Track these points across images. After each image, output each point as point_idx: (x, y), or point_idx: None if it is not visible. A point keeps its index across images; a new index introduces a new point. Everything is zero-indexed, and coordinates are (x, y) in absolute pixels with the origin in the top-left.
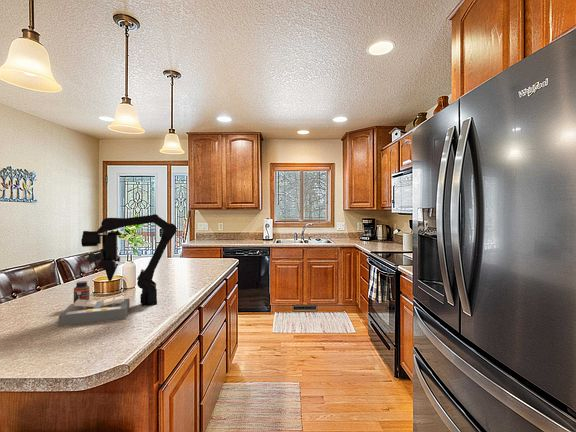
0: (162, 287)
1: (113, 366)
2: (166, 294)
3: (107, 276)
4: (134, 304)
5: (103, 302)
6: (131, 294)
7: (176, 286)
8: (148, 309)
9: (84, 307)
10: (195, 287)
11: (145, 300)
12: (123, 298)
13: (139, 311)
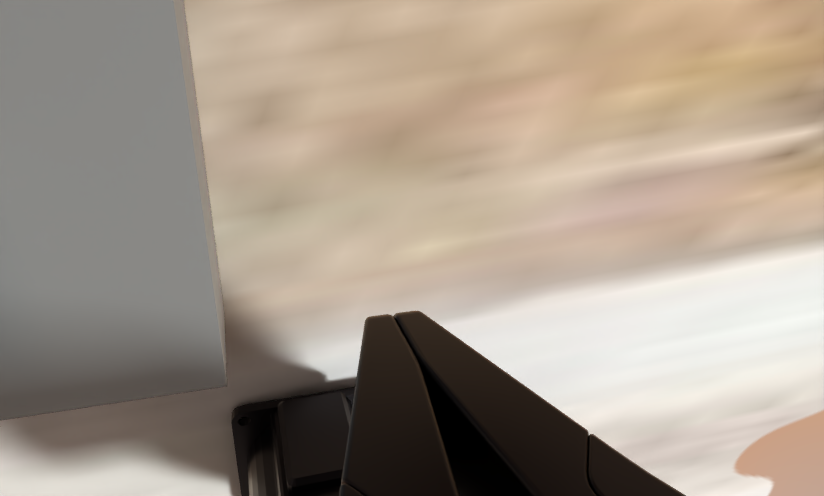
0: (808, 413)
1: None
2: None
3: (355, 413)
4: (339, 329)
5: (62, 84)
6: (765, 223)
7: (760, 489)
8: (85, 482)
9: None
10: None
11: (258, 471)
12: None
13: (20, 430)
